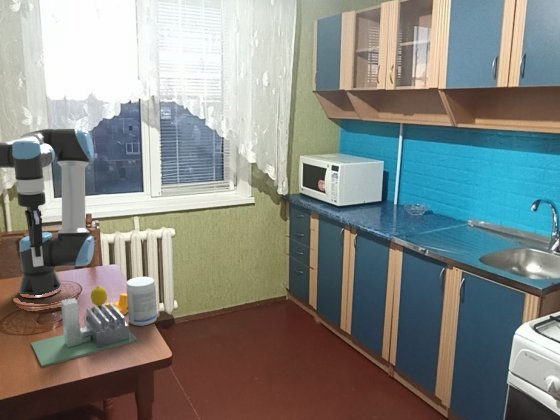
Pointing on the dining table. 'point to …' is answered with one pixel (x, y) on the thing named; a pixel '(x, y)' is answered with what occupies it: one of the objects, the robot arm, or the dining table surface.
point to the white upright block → (72, 323)
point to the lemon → (98, 296)
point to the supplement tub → (141, 301)
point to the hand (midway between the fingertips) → (38, 265)
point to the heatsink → (105, 326)
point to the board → (67, 349)
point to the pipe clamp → (121, 304)
